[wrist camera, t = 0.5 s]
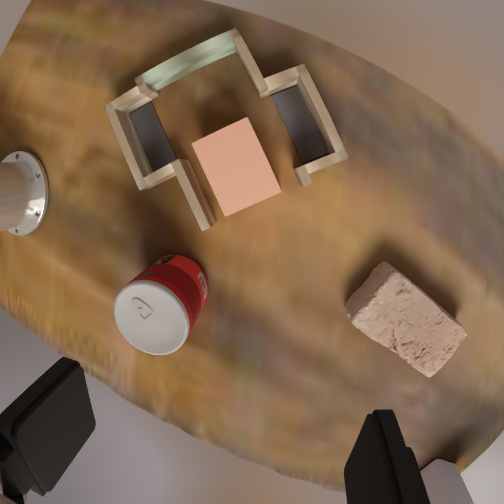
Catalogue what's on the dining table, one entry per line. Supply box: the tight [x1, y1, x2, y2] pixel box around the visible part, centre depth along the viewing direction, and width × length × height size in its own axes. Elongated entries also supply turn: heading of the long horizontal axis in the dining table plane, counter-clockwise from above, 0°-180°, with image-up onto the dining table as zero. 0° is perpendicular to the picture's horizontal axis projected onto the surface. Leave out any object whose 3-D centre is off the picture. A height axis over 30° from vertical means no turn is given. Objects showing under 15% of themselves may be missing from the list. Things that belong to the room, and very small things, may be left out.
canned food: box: [114, 255, 208, 355], centre depth 35 cm, size 8×8×11 cm
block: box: [192, 117, 282, 217], centre depth 33 cm, size 6×8×6 cm
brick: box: [345, 261, 467, 377], centre depth 37 cm, size 17×8×5 cm, turn 56°
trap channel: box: [105, 28, 348, 231], centre depth 33 cm, size 22×19×4 cm
